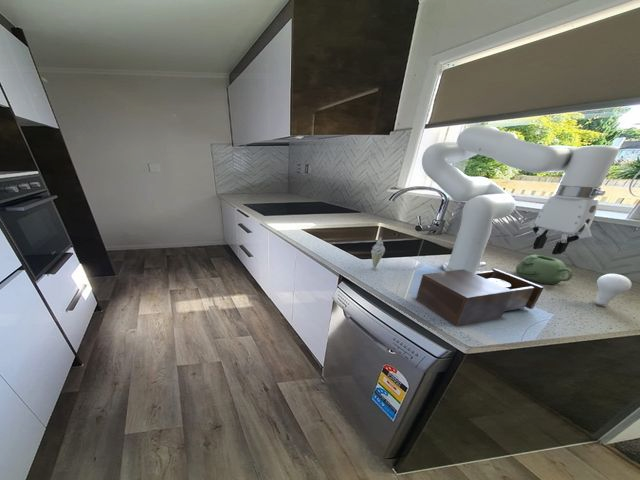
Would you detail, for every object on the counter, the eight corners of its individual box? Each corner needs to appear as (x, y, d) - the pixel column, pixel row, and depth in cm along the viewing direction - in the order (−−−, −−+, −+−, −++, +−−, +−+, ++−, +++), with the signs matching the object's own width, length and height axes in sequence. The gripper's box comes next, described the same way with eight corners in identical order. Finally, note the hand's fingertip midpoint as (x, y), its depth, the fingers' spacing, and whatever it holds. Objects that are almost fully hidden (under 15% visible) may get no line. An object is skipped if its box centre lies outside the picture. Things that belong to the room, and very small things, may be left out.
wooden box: (455, 293, 86) (463, 269, 83) (501, 318, 73) (513, 290, 69) (415, 299, 83) (422, 274, 79) (456, 326, 70) (467, 297, 66)
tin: (490, 291, 83) (495, 277, 81) (509, 300, 78) (515, 285, 76) (476, 293, 82) (482, 279, 80) (495, 302, 77) (501, 287, 75)
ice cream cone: (382, 272, 102) (389, 238, 96) (369, 271, 103) (375, 238, 97) (378, 267, 107) (385, 234, 101) (366, 266, 108) (372, 234, 102)
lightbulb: (579, 300, 82) (596, 270, 77) (595, 299, 82) (613, 270, 78) (604, 310, 76) (625, 280, 72) (621, 309, 76) (643, 279, 72)
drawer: (496, 286, 89) (504, 267, 86) (543, 306, 77) (554, 285, 74) (452, 292, 85) (459, 272, 82) (494, 315, 73) (504, 293, 70)
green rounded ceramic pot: (504, 270, 102) (513, 251, 99) (535, 270, 102) (545, 251, 99) (546, 290, 88) (557, 268, 84) (582, 290, 87) (595, 268, 84)
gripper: (630, 196, 63) (593, 260, 70) (547, 188, 78) (523, 241, 85) (610, 197, 62) (574, 262, 69) (529, 189, 77) (507, 243, 84)
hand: (547, 250), depth 77 cm, fingers open, 4 cm apart
